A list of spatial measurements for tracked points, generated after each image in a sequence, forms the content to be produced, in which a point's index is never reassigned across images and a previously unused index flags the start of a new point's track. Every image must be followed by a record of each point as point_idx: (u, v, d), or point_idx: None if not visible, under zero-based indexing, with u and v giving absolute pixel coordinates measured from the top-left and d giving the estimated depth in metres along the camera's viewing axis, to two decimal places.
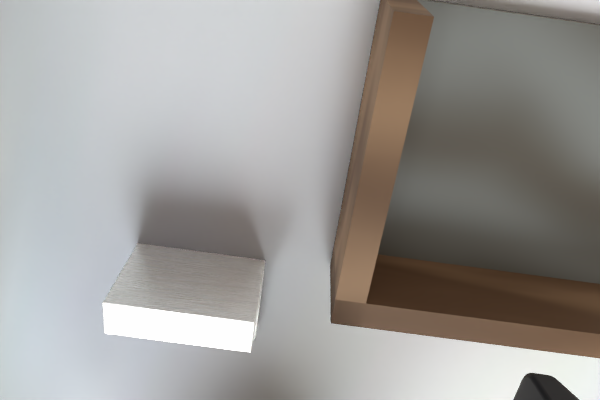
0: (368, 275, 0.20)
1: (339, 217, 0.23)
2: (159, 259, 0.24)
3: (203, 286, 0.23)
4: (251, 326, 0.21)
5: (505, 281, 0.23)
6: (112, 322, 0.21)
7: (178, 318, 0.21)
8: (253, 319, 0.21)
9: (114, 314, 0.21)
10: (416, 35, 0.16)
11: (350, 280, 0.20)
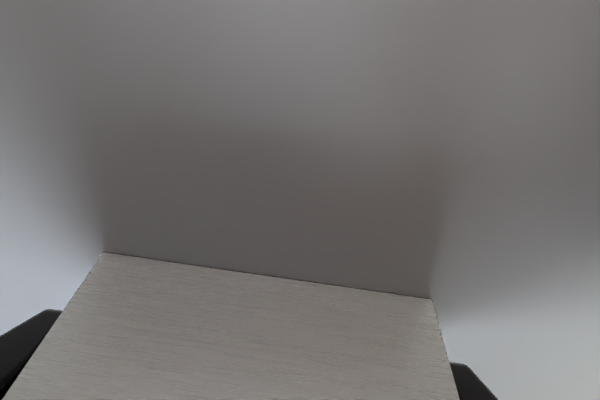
0: None
1: None
2: (157, 305, 0.09)
3: (293, 397, 0.07)
4: None
5: None
6: None
7: None
8: None
9: None
10: None
11: None
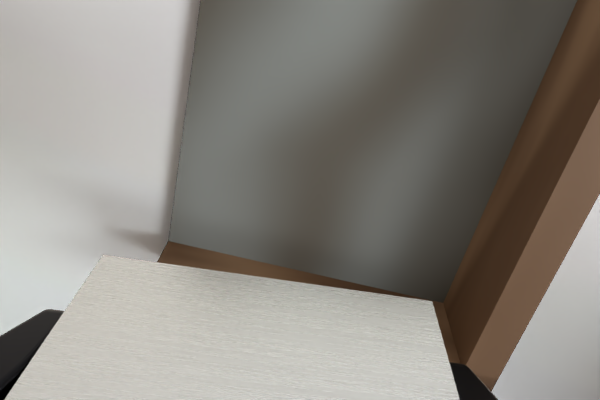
0: None
1: None
2: (157, 307, 0.09)
3: None
4: None
5: (516, 164, 0.17)
6: None
7: None
8: None
9: None
10: None
11: None
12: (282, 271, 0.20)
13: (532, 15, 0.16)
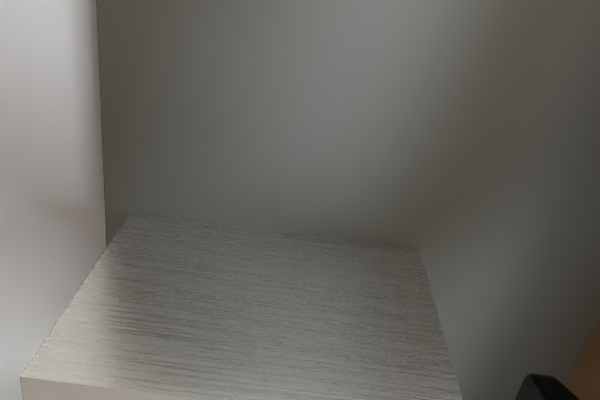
0: None
1: None
2: (181, 251, 0.10)
3: (300, 320, 0.09)
4: None
5: None
6: None
7: None
8: None
9: None
10: None
11: None
12: None
13: None
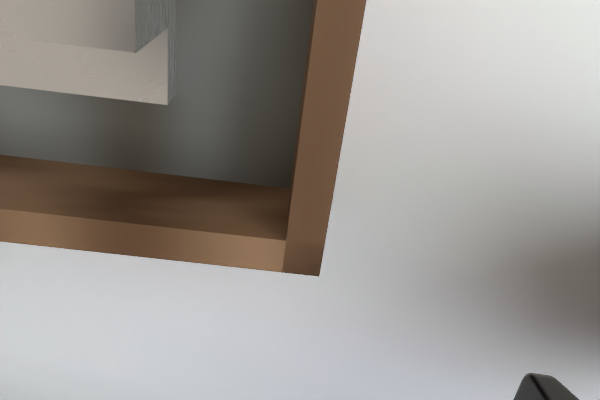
0: (243, 240, 0.17)
1: None
2: None
3: None
4: None
5: (312, 13, 0.16)
6: None
7: None
8: None
9: None
10: None
11: (252, 258, 0.17)
12: (113, 171, 0.19)
13: None
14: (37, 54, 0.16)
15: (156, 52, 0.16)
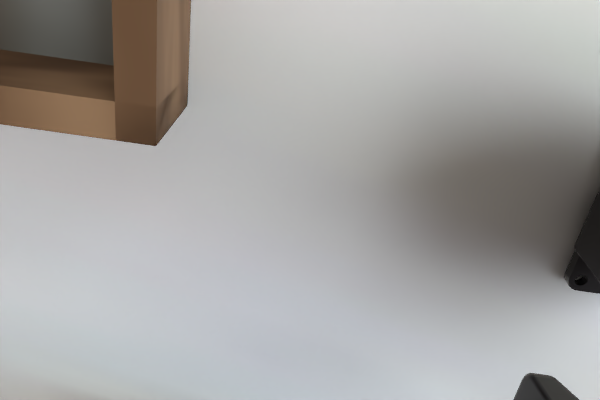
0: (69, 100, 0.15)
1: None
2: None
3: None
4: None
5: None
6: None
7: None
8: None
9: None
10: None
11: (81, 122, 0.16)
12: None
13: None
14: None
15: None
